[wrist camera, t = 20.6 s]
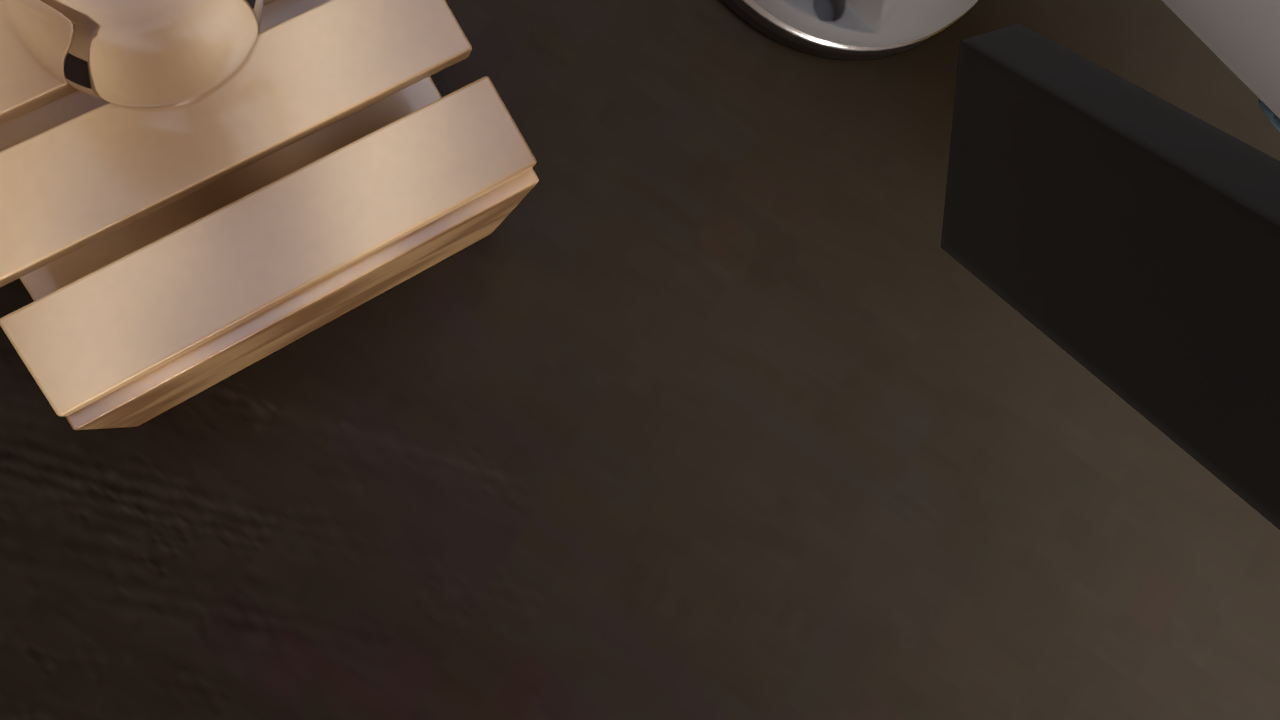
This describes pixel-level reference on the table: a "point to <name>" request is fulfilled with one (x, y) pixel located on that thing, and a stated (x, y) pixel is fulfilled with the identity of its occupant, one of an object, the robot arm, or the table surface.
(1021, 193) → the robot arm
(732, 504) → the table surface
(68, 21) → the beer glass
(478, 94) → the shoe rack
